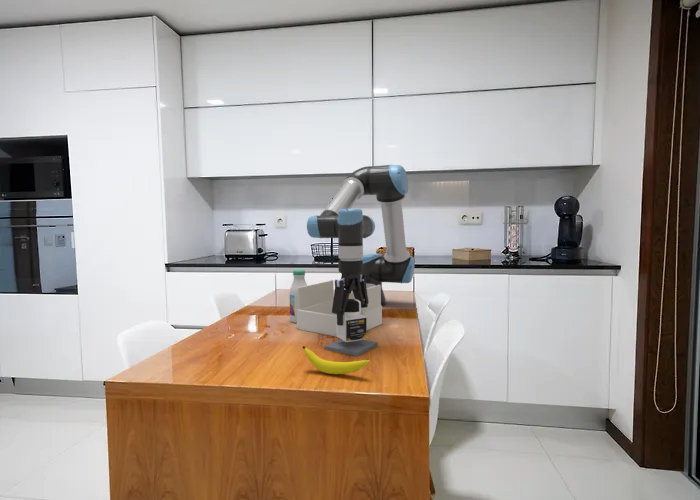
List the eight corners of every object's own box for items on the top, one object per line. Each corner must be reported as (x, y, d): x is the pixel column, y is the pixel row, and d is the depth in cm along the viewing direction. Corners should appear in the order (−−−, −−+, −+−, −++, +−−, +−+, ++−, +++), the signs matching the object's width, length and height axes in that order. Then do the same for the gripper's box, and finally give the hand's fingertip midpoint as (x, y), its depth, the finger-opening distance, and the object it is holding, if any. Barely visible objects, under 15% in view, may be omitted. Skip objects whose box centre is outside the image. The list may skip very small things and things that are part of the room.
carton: (333, 316, 165) (333, 279, 164) (381, 323, 152) (381, 284, 151) (297, 328, 146) (296, 288, 145) (348, 338, 134) (347, 294, 132)
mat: (346, 339, 133) (346, 336, 133) (377, 345, 126) (377, 342, 126) (324, 349, 123) (324, 346, 123) (357, 356, 117) (357, 353, 116)
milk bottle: (311, 318, 161) (310, 269, 159) (307, 323, 153) (306, 271, 152) (292, 318, 162) (291, 269, 160) (287, 323, 154) (286, 271, 153)
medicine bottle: (346, 342, 120) (345, 303, 119) (335, 336, 126) (335, 298, 125) (367, 339, 123) (366, 300, 122) (356, 333, 129) (355, 296, 128)
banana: (368, 382, 98) (368, 356, 98) (300, 371, 106) (299, 347, 105) (372, 377, 101) (372, 353, 101) (305, 367, 108) (305, 344, 108)
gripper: (359, 255, 134) (360, 321, 136) (318, 262, 116) (319, 338, 117) (379, 256, 130) (379, 325, 132) (339, 263, 111) (340, 342, 113)
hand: (351, 331), depth 124 cm, fingers closed on medicine bottle, 9 cm apart
